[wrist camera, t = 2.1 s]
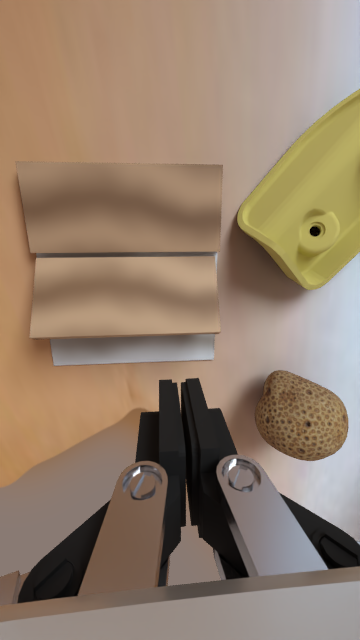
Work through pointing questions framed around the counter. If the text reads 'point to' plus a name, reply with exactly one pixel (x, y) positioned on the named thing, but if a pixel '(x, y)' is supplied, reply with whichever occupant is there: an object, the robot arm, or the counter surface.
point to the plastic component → (312, 200)
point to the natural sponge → (301, 417)
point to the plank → (124, 297)
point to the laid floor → (123, 235)
